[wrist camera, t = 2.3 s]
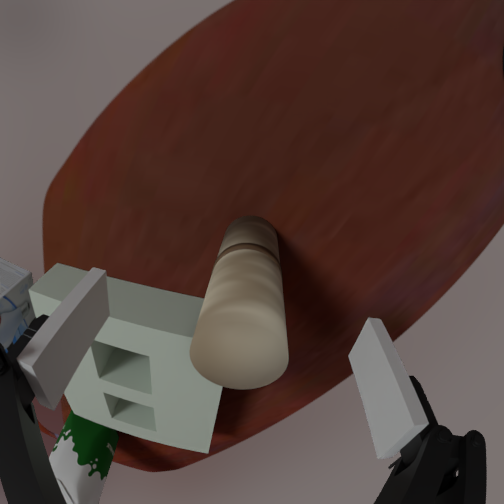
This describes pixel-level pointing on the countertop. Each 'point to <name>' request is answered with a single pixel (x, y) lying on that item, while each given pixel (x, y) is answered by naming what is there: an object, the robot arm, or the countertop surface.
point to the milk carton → (83, 459)
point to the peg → (243, 311)
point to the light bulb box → (14, 303)
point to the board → (138, 363)
